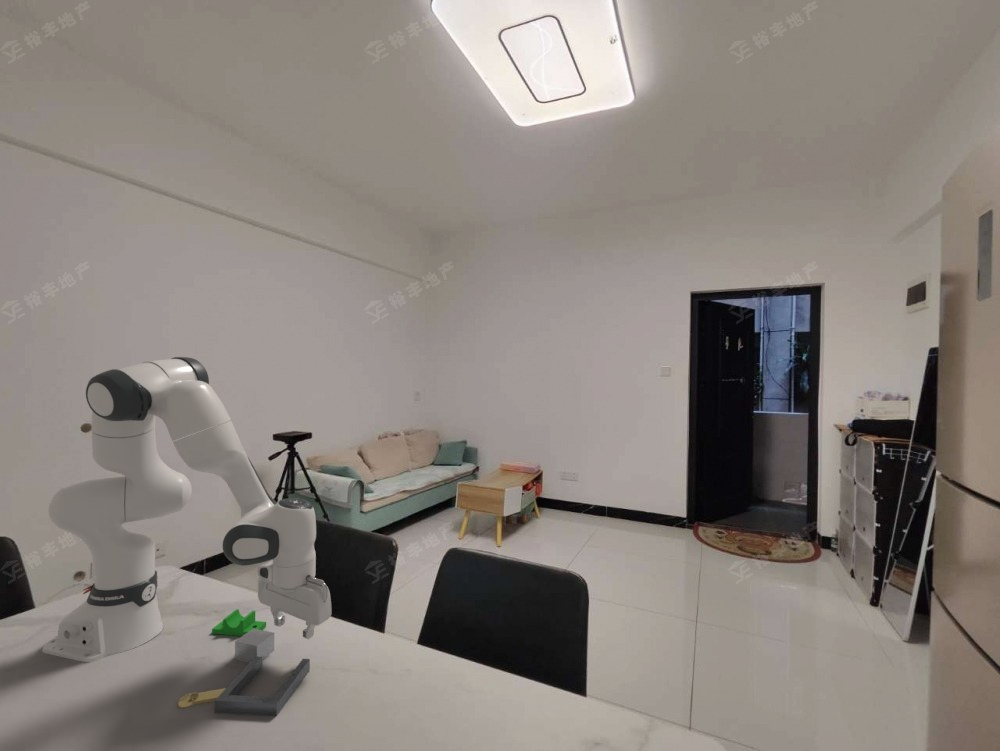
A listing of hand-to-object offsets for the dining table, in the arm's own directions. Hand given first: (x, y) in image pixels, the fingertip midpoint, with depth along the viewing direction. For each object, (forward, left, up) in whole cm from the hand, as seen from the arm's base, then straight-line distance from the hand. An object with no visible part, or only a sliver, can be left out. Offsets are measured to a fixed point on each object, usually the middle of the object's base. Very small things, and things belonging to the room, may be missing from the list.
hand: (293, 630), depth 98 cm
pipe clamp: (-20, +12, -3) cm, 23 cm away
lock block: (-9, -1, -6) cm, 10 cm away
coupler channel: (0, -10, -6) cm, 12 cm away
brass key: (-10, -14, -6) cm, 18 cm away
